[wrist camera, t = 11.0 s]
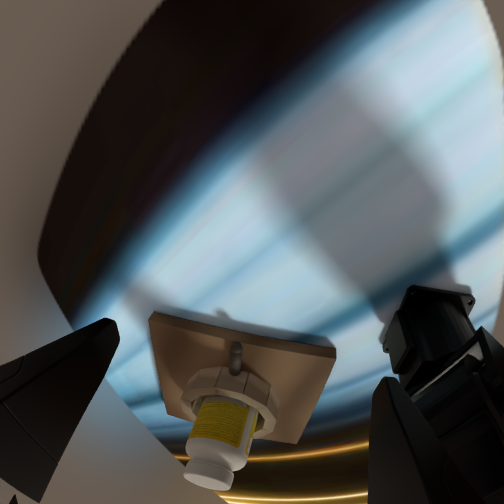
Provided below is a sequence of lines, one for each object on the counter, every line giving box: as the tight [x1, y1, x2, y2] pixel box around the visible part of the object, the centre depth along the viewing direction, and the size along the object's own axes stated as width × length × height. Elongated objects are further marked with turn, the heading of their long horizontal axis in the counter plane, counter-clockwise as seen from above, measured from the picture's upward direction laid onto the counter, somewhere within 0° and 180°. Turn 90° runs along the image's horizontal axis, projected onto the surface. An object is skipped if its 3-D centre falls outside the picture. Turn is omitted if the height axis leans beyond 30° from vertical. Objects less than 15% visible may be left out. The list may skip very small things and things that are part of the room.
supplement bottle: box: [184, 395, 259, 491], centre depth 22 cm, size 5×5×10 cm
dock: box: [148, 311, 336, 444], centre depth 26 cm, size 16×16×4 cm
